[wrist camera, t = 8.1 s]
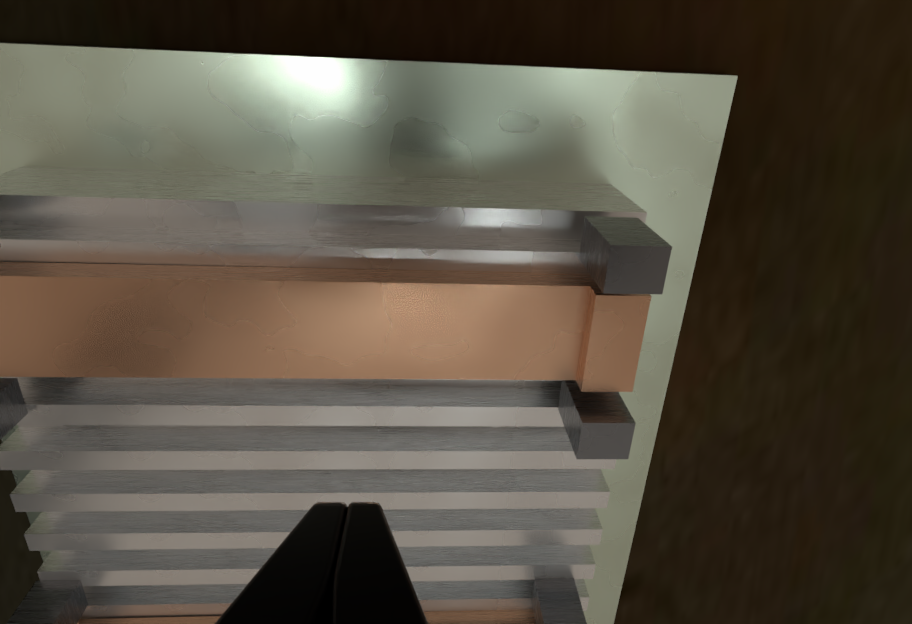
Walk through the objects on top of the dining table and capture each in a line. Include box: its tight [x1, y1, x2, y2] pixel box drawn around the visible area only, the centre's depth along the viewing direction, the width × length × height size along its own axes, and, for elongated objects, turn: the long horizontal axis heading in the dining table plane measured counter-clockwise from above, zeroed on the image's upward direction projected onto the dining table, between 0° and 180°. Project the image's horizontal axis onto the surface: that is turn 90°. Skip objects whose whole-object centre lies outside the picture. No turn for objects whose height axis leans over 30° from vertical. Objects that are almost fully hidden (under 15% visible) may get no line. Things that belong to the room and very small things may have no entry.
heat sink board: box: [0, 42, 738, 624], centre depth 17 cm, size 22×22×7 cm
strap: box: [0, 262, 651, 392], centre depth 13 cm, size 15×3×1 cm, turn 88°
